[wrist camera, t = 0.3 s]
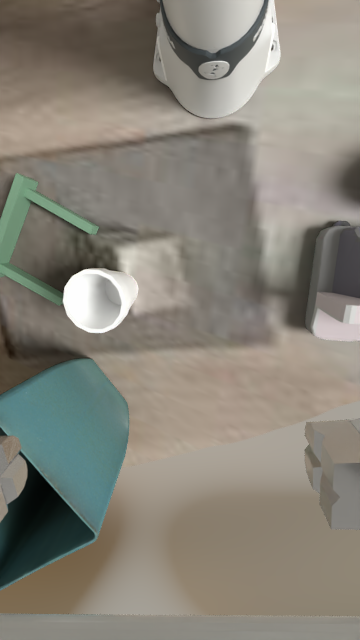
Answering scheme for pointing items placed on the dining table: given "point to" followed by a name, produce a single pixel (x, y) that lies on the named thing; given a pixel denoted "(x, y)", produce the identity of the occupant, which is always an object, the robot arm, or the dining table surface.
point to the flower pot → (61, 463)
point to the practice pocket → (7, 229)
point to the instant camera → (335, 284)
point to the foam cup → (99, 298)
